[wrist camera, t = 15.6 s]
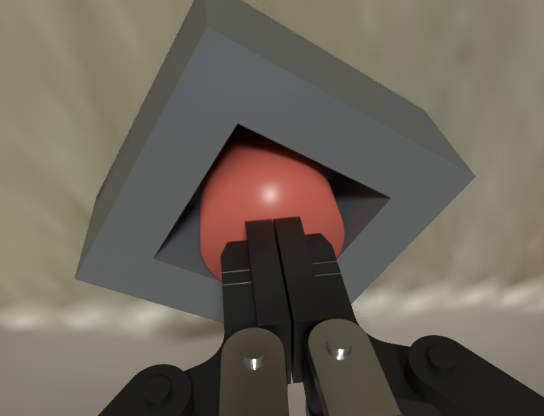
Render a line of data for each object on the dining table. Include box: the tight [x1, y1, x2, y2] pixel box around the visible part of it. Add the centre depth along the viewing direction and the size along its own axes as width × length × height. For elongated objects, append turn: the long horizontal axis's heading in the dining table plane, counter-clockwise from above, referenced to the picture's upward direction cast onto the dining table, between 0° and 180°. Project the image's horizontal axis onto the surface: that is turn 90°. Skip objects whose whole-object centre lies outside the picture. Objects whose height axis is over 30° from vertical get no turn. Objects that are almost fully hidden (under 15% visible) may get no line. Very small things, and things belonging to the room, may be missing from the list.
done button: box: [200, 129, 344, 281], centre depth 15 cm, size 4×4×3 cm
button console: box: [75, 0, 475, 323], centre depth 16 cm, size 8×8×4 cm
